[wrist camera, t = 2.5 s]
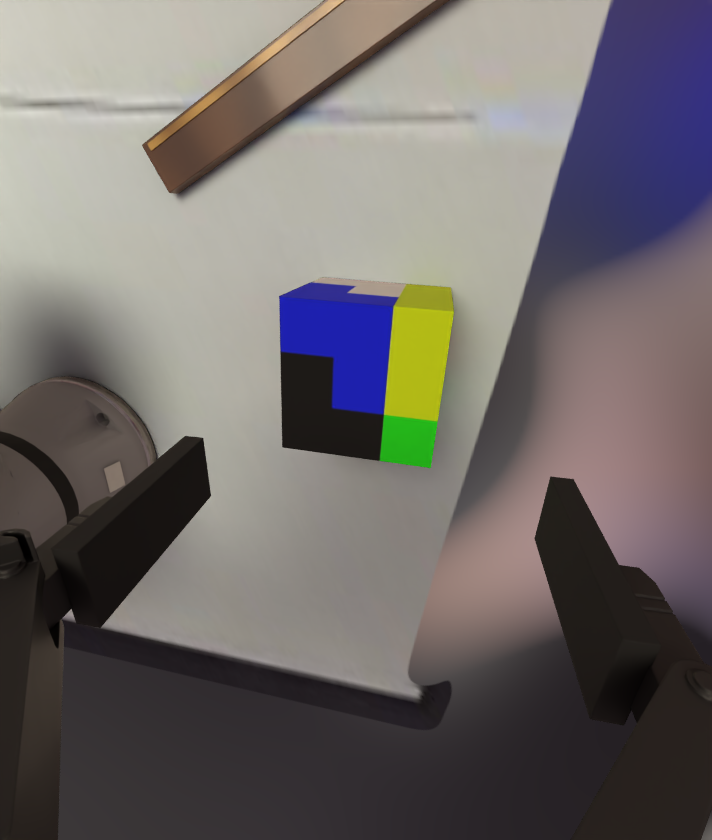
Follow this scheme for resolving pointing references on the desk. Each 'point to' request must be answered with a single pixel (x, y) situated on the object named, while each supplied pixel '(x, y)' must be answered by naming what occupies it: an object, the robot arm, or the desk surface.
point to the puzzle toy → (364, 368)
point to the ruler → (278, 83)
